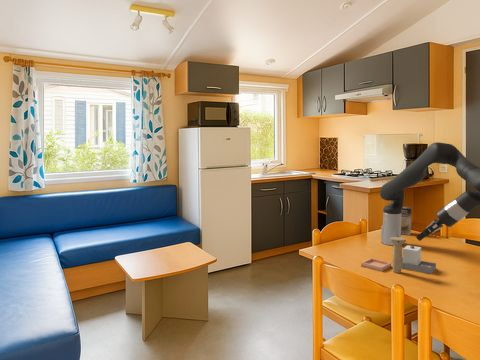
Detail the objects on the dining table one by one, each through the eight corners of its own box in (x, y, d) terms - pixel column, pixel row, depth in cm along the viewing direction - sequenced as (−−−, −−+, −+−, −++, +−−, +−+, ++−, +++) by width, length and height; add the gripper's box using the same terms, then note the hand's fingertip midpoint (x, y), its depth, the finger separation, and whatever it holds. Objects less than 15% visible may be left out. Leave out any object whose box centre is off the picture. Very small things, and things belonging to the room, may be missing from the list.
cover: (402, 263, 174) (403, 246, 173) (406, 259, 179) (407, 243, 178) (416, 266, 171) (417, 249, 170) (420, 262, 176) (421, 245, 175)
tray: (361, 266, 178) (361, 262, 177) (370, 261, 184) (370, 257, 184) (381, 271, 170) (381, 267, 170) (391, 266, 176) (391, 262, 176)
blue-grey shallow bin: (396, 267, 175) (396, 261, 175) (401, 262, 182) (402, 257, 181) (431, 273, 166) (431, 268, 166) (435, 268, 173) (435, 263, 172)
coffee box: (394, 234, 233) (394, 207, 231) (394, 231, 239) (395, 205, 237) (410, 235, 229) (411, 208, 227) (410, 232, 235) (411, 206, 233)
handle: (388, 269, 173) (389, 236, 171) (404, 270, 171) (405, 237, 169) (389, 273, 168) (390, 239, 166) (405, 274, 166) (406, 240, 165)
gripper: (449, 202, 160) (418, 226, 169) (441, 208, 149) (409, 233, 158) (463, 217, 158) (431, 240, 166) (456, 223, 147) (422, 248, 155)
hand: (420, 236), depth 162 cm, fingers open, 8 cm apart
